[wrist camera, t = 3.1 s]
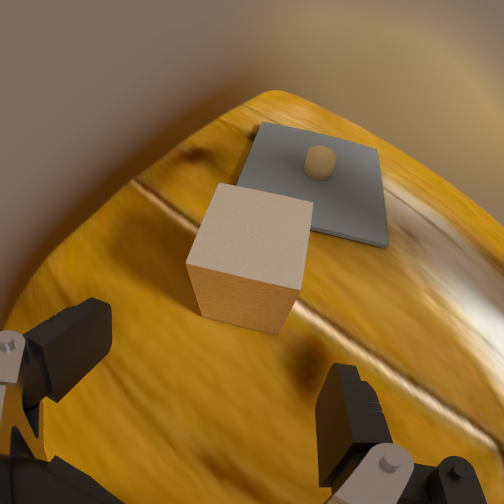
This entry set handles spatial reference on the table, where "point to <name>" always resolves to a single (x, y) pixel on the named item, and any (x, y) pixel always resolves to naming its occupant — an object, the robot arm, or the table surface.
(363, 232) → the mat
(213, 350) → the table surface
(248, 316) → the block
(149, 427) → the table surface
